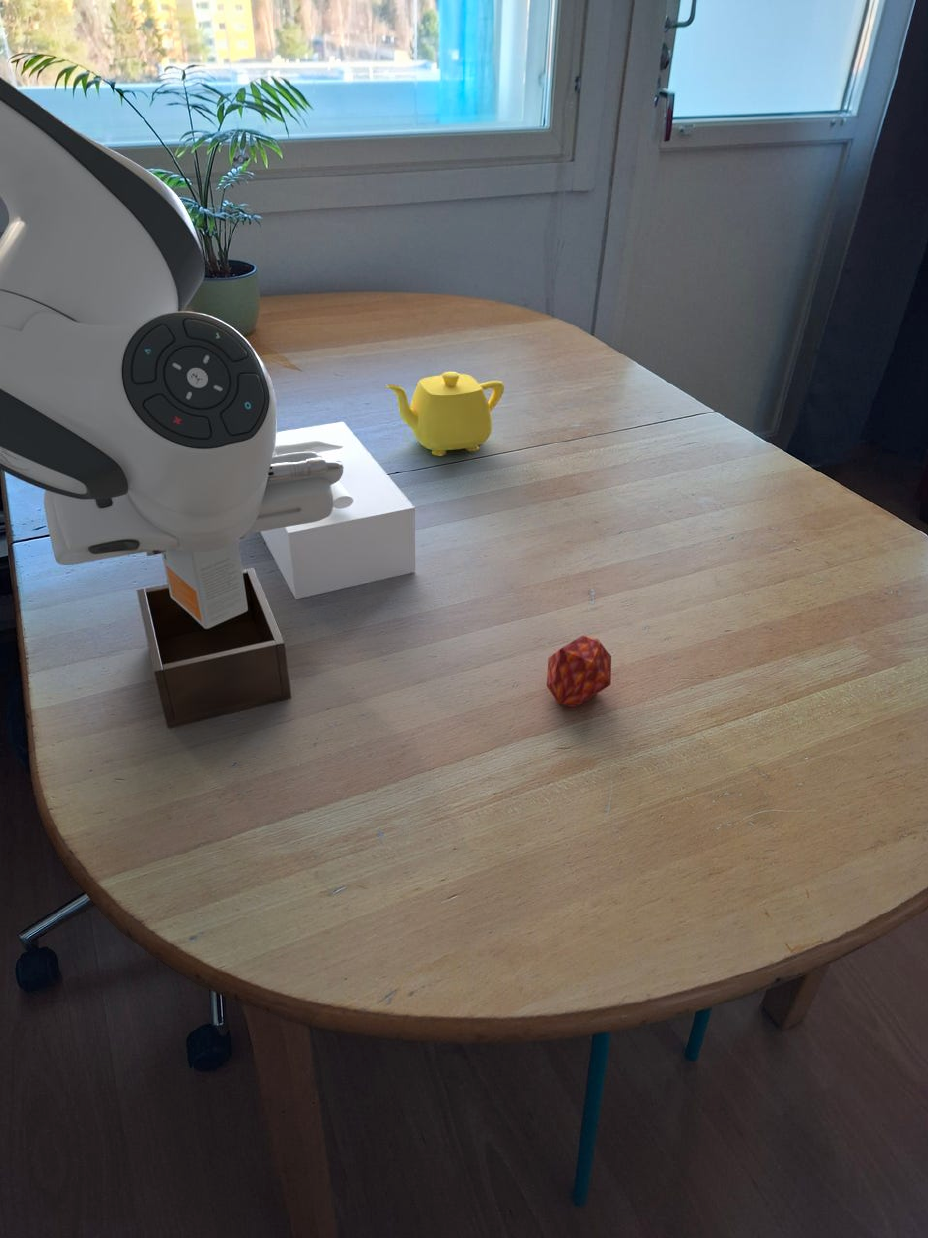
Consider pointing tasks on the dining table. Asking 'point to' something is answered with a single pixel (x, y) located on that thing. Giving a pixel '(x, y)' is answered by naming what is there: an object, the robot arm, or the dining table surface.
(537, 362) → the dining table surface
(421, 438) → the teapot
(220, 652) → the holder
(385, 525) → the hammer relief block
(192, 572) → the cosmetic box
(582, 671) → the decorative stone
